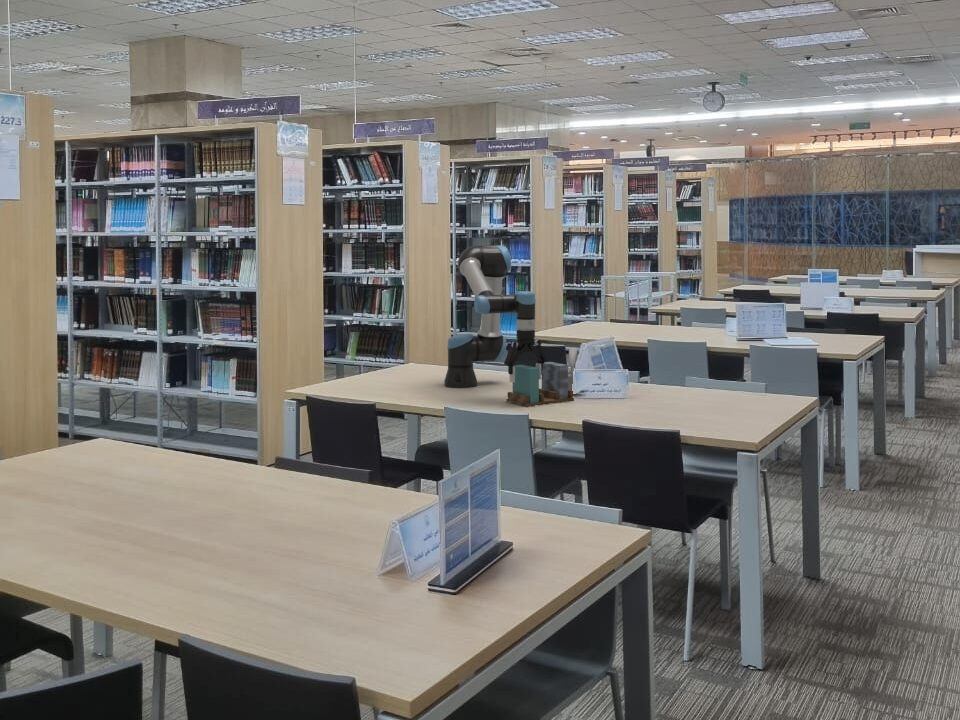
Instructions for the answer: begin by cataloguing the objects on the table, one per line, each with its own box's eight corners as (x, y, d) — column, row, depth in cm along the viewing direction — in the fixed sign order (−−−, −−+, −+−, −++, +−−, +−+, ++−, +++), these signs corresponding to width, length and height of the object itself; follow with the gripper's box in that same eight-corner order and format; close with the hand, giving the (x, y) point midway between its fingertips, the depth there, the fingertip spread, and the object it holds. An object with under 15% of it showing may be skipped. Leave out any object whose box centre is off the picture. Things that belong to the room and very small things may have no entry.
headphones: (582, 397, 420) (583, 351, 417) (561, 396, 421) (561, 350, 418) (584, 390, 438) (585, 345, 435) (564, 389, 439) (564, 345, 437)
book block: (512, 398, 409) (512, 365, 407) (521, 397, 412) (521, 364, 410) (530, 403, 400) (530, 369, 398) (538, 401, 402) (539, 368, 400)
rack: (506, 402, 409) (506, 365, 407) (552, 395, 423) (553, 361, 421) (526, 407, 397) (526, 369, 395) (573, 400, 412) (574, 364, 409)
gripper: (506, 332, 392) (506, 384, 395) (555, 328, 406) (554, 378, 409) (495, 330, 398) (495, 382, 401) (543, 326, 412) (543, 376, 415)
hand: (525, 380), depth 405 cm, fingers open, 13 cm apart
